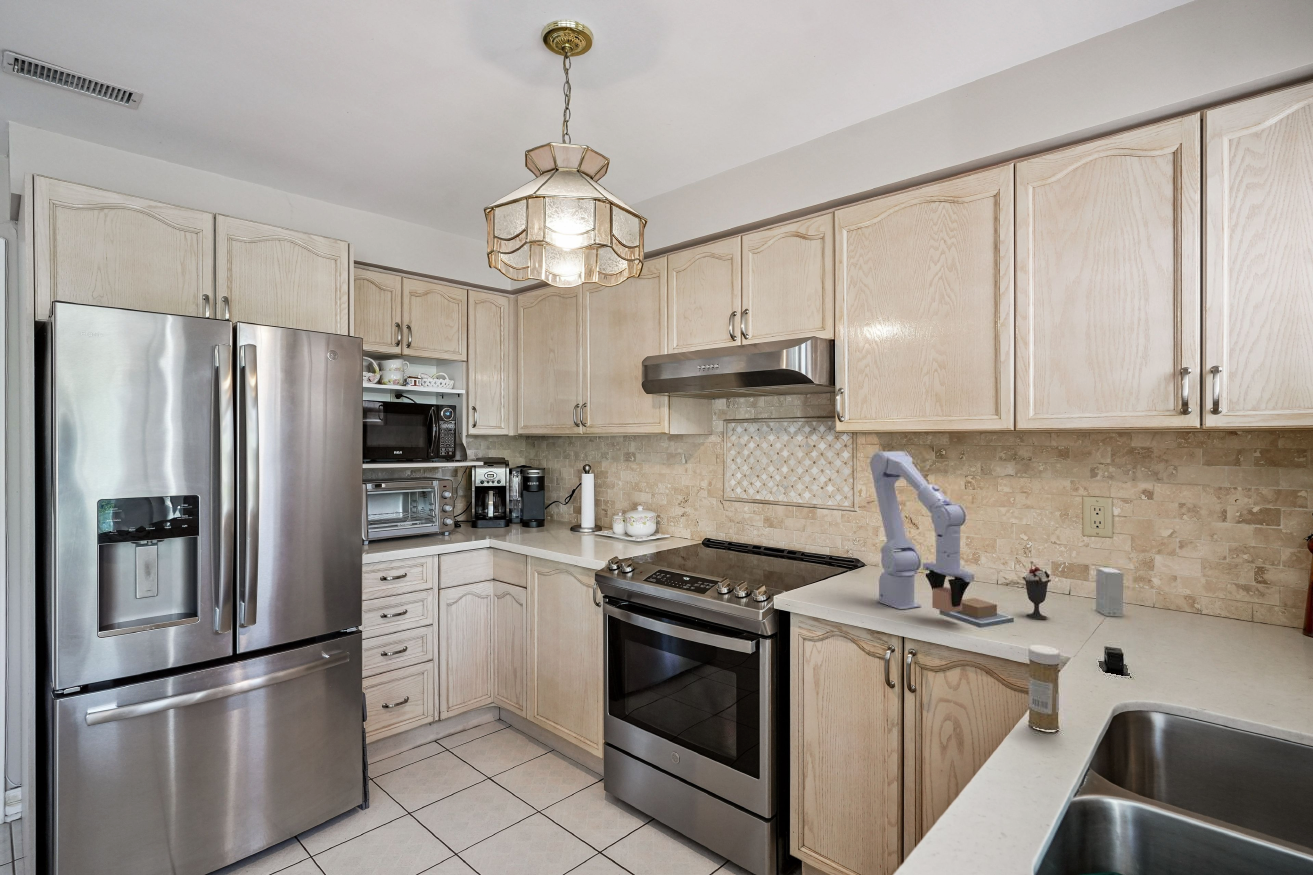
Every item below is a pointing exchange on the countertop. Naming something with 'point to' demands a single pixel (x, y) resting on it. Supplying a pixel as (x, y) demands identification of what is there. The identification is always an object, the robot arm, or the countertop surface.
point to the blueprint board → (979, 613)
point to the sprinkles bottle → (1043, 687)
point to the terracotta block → (944, 600)
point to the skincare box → (1109, 592)
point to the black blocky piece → (1114, 662)
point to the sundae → (1036, 589)
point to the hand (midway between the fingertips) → (947, 603)
